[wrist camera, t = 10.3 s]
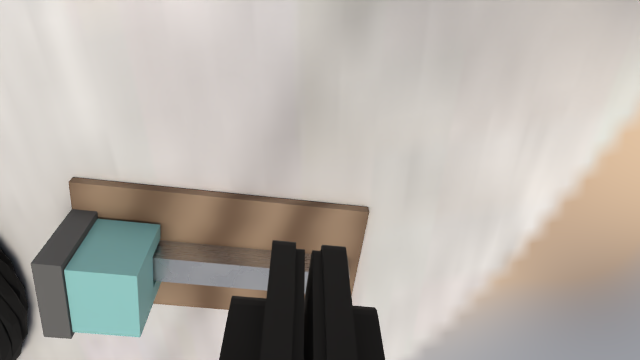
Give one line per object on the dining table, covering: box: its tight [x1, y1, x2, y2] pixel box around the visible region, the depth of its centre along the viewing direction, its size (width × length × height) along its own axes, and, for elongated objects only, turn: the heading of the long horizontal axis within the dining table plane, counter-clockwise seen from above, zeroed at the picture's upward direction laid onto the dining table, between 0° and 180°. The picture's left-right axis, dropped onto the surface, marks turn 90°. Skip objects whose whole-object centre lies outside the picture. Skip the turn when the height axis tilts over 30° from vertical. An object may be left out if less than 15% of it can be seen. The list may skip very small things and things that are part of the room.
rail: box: [153, 240, 350, 294], centre depth 43 cm, size 21×2×2 cm, turn 82°
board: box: [69, 177, 369, 310], centre depth 44 cm, size 24×12×1 cm, turn 82°
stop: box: [31, 209, 98, 339], centre depth 40 cm, size 2×7×7 cm, turn 172°
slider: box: [64, 219, 161, 337], centre depth 40 cm, size 5×6×6 cm
